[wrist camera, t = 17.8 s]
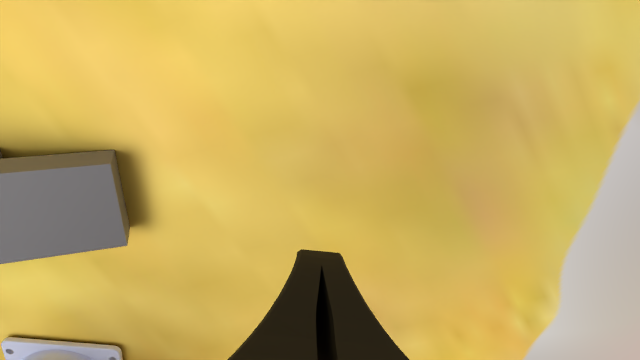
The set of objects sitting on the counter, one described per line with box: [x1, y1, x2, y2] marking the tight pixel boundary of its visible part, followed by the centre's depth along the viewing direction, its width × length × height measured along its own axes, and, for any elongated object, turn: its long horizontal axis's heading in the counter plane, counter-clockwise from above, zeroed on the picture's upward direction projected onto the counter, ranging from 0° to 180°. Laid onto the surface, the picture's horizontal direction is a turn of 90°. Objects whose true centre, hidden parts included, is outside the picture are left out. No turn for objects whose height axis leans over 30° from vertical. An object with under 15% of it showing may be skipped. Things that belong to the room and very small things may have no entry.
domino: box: [0, 150, 130, 264], centre depth 21 cm, size 5×2×10 cm
